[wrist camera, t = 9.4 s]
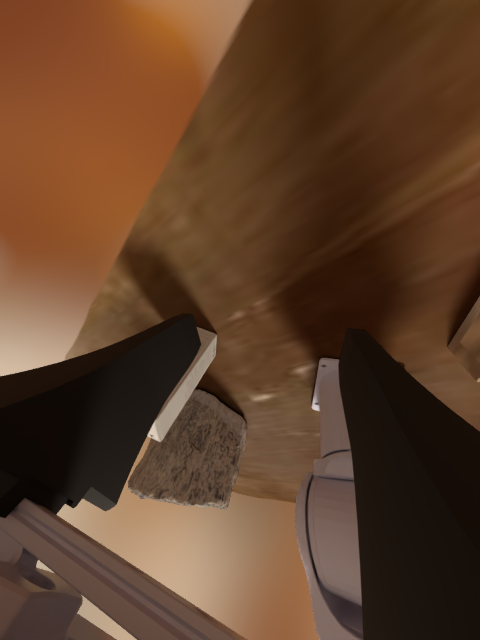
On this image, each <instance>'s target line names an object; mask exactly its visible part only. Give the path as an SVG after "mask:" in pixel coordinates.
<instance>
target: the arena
mask: <svg viewBox="0 0 480 640" xmlns="http://www.w3.org/2000/svg"><path fill="white" fill-rule="evenodd" d="M448 349H449V350H450V351H451V352H452V353H453V354H454V356H455V357H456V358H457V359H458V360H459V361H460V363H461V364H462V365H463V366H464V367H465V369H466V370H467V371H468V372H469V373H470V374H471V376H472V377H473V378H474V379H475V380H476V381H478V382H480V297H479V298H478V300H477V301H476V303H475V304H474V306H473V307H472V309H471V311H470V312H469V314H468V315H467V317H466V318H465V320H464V322H463V323H462V325H461V326H460V328H459V329H458V331H457V333H456V334H455V336H454V337H453V339H452V340H451V342H450V344H449V345H448Z"/></svg>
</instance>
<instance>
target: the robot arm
mask: <svg viewBox="0 0 480 640" xmlns="http://www.w3.org/2000/svg"><path fill="white" fill-rule="evenodd" d="M200 346H201V341H200V337H199V334H198V330H197V326H196V323H195V319H194V316H193V314H184V313H183V314H180V315H178V316H175V317H173V318H171V319H168V320H166V321H164V322H162V323H160V324H158V325H155V326H153V327H151V328H149V329H147V330H145V331H143V332H140V333H138V334H136V335H134V336H131V337H129V338H127V339H125V340H122V341H120V342H117V343H115V344H113V345H110V346H107V347H105V348H102V349H99V350H96V351H94V352H91V353H88V354H85V355H81V356H78V357H75V358H72V359H69V360H65V361H62V362H59V363H55V364H51V365H48V366H44V367H40V368H36V369H32V370H28V371H24V372H19V373H15V374H10V375H6V376H0V640H116V639H114V638H113V637H112V636H110V635H109V634H107V633H106V632H104V631H103V630H101V629H100V628H98V627H97V626H95V625H94V624H92V623H91V622H89V621H88V620H86V619H85V618H83V617H81V616H80V615H79V614H77V612H78V610H79V608H80V606H81V605H82V596H81V594H82V595H83V596H84V597H85V598H87V599H88V600H89V601H90V602H91V603H93V604H94V605H95V606H96V607H98V608H99V609H100V610H101V611H103V612H104V613H105V614H106V615H108V616H109V617H110V618H111V619H112V620H114V621H115V622H116V623H117V624H119V625H120V626H121V627H122V628H123V629H125V630H126V631H127V632H128V633H130V634H131V635H132V636H133V637H135V638H136V639H137V640H246V639H245V638H244V637H242V636H241V635H239V634H237V633H236V632H235V631H233V630H231V629H230V628H228V627H227V626H225V625H224V624H222V623H221V622H219V621H218V620H216V619H215V618H213V617H211V616H210V615H209V614H207V613H205V612H204V611H202V610H201V609H199V608H198V607H196V606H195V605H193V604H192V603H190V602H189V601H187V600H186V599H184V598H182V597H181V596H179V595H178V594H176V593H175V592H173V591H172V590H170V589H169V588H167V587H166V586H164V585H162V584H161V583H160V582H158V581H156V580H155V579H153V578H152V577H150V576H149V575H147V574H146V573H144V572H143V571H141V570H140V569H138V568H136V567H135V566H133V565H132V564H131V563H129V562H127V561H126V560H124V559H123V558H121V557H120V556H118V555H117V554H115V553H114V552H112V551H111V550H109V549H107V548H106V547H105V546H103V545H101V544H100V543H98V542H97V541H95V540H94V539H92V538H91V537H89V536H88V535H86V534H85V533H83V532H82V531H80V530H79V529H77V528H75V527H74V526H72V525H71V524H69V523H68V522H66V521H65V520H63V519H62V518H60V517H59V516H57V515H56V514H57V513H58V512H59V510H60V509H61V508H62V506H63V505H64V504H67V505H69V506H71V507H72V508H74V507H76V506H77V505H78V503H79V502H80V501H81V499H82V498H83V499H85V500H86V501H88V502H90V503H92V504H94V505H95V506H97V507H99V508H101V509H102V510H104V511H107V510H109V509H111V508H112V507H114V506H115V505H116V504H117V502H118V499H119V497H120V494H121V492H122V490H123V487H124V485H125V483H126V480H127V478H128V476H129V473H130V471H131V468H132V466H133V464H134V462H135V460H136V458H137V455H138V454H139V451H140V449H141V447H142V445H143V443H144V441H145V439H146V437H147V435H148V433H149V431H150V429H151V427H152V425H153V423H154V422H155V420H156V418H157V416H158V414H159V413H160V411H161V409H162V407H163V405H164V404H165V402H166V400H167V399H168V397H169V396H170V394H171V393H172V391H173V390H174V388H175V387H176V386H177V384H178V383H179V381H180V380H181V378H182V377H183V375H184V374H185V373H186V371H187V370H188V368H189V367H190V365H191V364H192V362H193V361H194V359H195V357H196V355H197V353H198V351H199V349H200ZM312 409H314V410H317V411H320V445H321V459H314V463H313V472H309V473H307V474H306V475H305V476H304V478H303V480H302V482H301V484H300V486H299V489H298V492H297V497H296V506H295V524H296V535H297V542H298V547H299V552H300V555H301V558H302V561H303V564H304V567H305V571H306V575H307V580H308V584H309V589H310V595H311V601H312V608H313V612H314V618H315V627H316V632H317V634H318V636H319V639H320V640H480V432H479V431H478V430H477V429H475V428H474V427H473V426H471V425H470V424H469V423H468V422H466V421H465V420H464V419H462V418H461V417H460V416H459V415H457V414H456V413H455V412H453V411H452V410H451V409H450V408H448V407H447V406H446V405H445V404H444V403H442V402H441V401H440V400H439V399H437V398H436V397H435V396H434V395H433V394H432V393H430V392H429V391H428V390H427V389H426V388H425V387H424V386H422V385H421V384H420V383H419V382H418V381H417V380H416V379H414V378H413V377H412V376H411V375H410V374H409V373H408V372H407V371H406V370H405V369H404V368H403V367H401V366H400V365H399V364H398V363H397V362H396V361H395V360H394V359H393V358H392V357H391V356H390V355H389V354H388V353H387V352H386V351H385V350H384V349H383V348H382V347H381V346H380V345H379V344H378V343H377V342H376V341H375V340H374V339H373V338H372V337H371V336H370V335H369V334H368V333H367V332H366V331H365V330H361V329H350V328H347V331H346V335H345V339H344V343H343V347H342V351H341V355H340V359H339V360H338V359H331V358H321V359H320V360H319V366H318V372H317V378H316V384H315V390H314V395H313V401H312ZM38 560H40V561H41V562H42V563H43V564H45V565H46V566H47V567H48V568H49V569H51V570H52V571H53V572H54V573H52V572H49V571H46V570H42V569H39V568H36V564H37V561H38ZM55 573H56V574H55Z"/></svg>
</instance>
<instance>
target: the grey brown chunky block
mask: <svg viewBox="0 0 480 640" xmlns="http://www.w3.org/2000/svg"><path fill="white" fill-rule="evenodd" d="M245 424H246V422H245V421H244V419H243V418H242V417H241V416H240V415H238V414H237V413H235V412H234V411H232V410H231V409H229V408H228V407H227V406H225V405H224V404H223V403H221V402H220V401H219V400H218V399H217V398H216V397H215V396H213V395H211V394H209V393H207V392H205V391H201V390H200V389H199V390H195V391H194V392H193V393H192V394H191V395H190V397H189V399H188V400H187V402H186V403H185V405H184V407H183V408H182V410H181V411H180V413H179V414H178V416H177V418H176V419H175V421H174V422H173V424H172V425H171V427H170V428H169V430H168V432H167V433H166V435H165V437H164V439H163V440H162V441H161V442H159V441H157V440H155V439H153V438H151V440H150V443H149V445H148V447H147V450H146V452H145V454H144V456H143V458H142V459H141V461H140V462H139V464H138V465H137V466H136V468H135V470H134V471H133V473H132V475H131V477H130V479H129V481H128V489H130V490H131V492H132V493H135V494H136V495H138V496H139V497H140V498H141V499H145V498H151V499H155V500H158V501H163V502H169V503H174V504H178V505H183V506H192V505H194V506H199V507H203V508H205V507H211V506H213V507H218V508H220V509H224V510H225V509H227V507H228V505H229V500H230V496H231V493H232V489H233V485H234V484H235V483H236V478H237V475H238V472H239V465H240V462H241V459H242V456H243V450H244V449H245V444H246V441H245V439H246V432H247V426H246V425H245Z"/></svg>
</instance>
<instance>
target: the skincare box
mask: <svg viewBox="0 0 480 640" xmlns="http://www.w3.org/2000/svg"><path fill="white" fill-rule="evenodd" d="M197 330H198V334H199V337H200V341H201V346H200V349H199V351H198V353H197V355H196V357H195V359H194V361H193V362H192V364H191V365H190V367H189V368H188V370H187V371H186V373H185V374H184V375H183V377H182V378H181V380H180V381H179V383H178V384H177V386H176V387H175V388H174V390H173V391H172V393H171V394H170V396H169V397H168V399H167V400H166V402H165V404H164V405H163V407H162V409H161V411H160V413H159V414H158V416H157V418H156V420H155V422H154V423H153V425H152V427H151V429H150V431H149V433H148V435H147V436H148V437H151V438H153V439H155V440H157V441H159V442H161V441H162V440H163V439H164V437H165V435H166V433H167V432H168V430H169V428H170V427H171V425H172V424H173V422H174V421H175V419H176V418H177V416H178V414H179V413H180V411H181V410H182V408H183V407H184V405H185V403H186V402H187V400H188V399H189V397H190V395H191V394H192V392H193V391H194V389H195V387H196V386H197V384H198V383H199V381H200V379H201V378H202V376H203V375H204V373H205V371H206V370H207V368H208V367H209V365H210V363H211V362H212V360H213V359H214V357H215V355H216V342H217V334H215V333H212V332H210V331H207V330H204V329H202V328H199V327H197Z"/></svg>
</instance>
